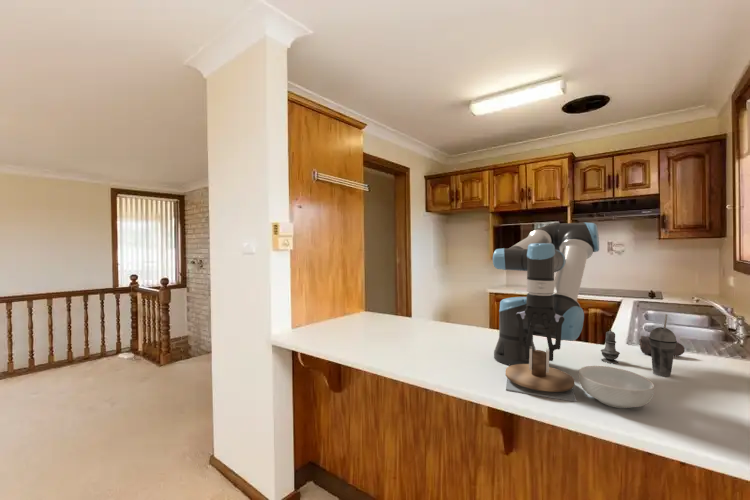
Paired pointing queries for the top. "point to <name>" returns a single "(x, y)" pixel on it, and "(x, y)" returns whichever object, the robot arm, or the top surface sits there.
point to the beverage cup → (662, 350)
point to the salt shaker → (610, 348)
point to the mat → (541, 392)
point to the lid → (539, 375)
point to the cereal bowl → (616, 386)
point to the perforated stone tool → (646, 346)
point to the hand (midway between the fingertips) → (538, 369)
